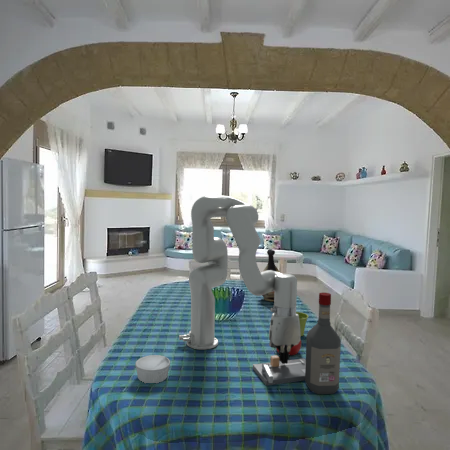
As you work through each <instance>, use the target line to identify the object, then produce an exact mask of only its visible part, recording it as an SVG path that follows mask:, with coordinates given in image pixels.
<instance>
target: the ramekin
mask: <svg viewBox="0 0 450 450" xmlns="http://www.w3.org/2000/svg"><path fill="white" fill-rule="evenodd" d="M170 366H171V360H170V359H169V358H168V357H167V356H164V355H160V354H158V355H157V354H150V355H145V356H142V357H140V358H138V359H137V360H136V361H135V369H136V375H137V379H138V380H139V381H140V382H141V381H142V383H143V382H144V383H143V384H146V383H156V384H159V382H160V383H162V382H164V381H165V380H166V379H167V378H168V376H169V370H170Z"/></svg>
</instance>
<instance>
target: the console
mask: <svg viewBox="0 0 450 450" xmlns="http://www.w3.org/2000/svg"><path fill="white" fill-rule="evenodd" d="M263 363H264V362H263ZM263 363H253V364H252V370H253V371H254V373H255V374H256V375H257V376H258V377H259V378H260V380H261V382H263V384H265V386H266V387H267V386H273V385H279V384H287V383H294V382H303V381H305V367H306V357H305V358H298V359H288V363H287V364H286V363H285V364H283V363H282V362H281V361H280V360H279V366H276V367H272V366H271V364H270V362H267V363H268V364H269V369H270V371H271V373H272V375H273V383H269V382H268V380H267V377H266V375H265V373H264V372H262V364H263Z"/></svg>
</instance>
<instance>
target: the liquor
mask: <svg viewBox="0 0 450 450" xmlns="http://www.w3.org/2000/svg"><path fill="white" fill-rule="evenodd" d="M331 305H332V294H331V293H329V292H319V293H318V319H317V321H316V324H315V325H314V326H313V327H311V328H310V329H309V330H308V332H307V333H306V338H305V339H306V340H305V341H306V343H305V344H306V345H305V359H306V367H305V380H304V381H305V384H306V386H307V387H308V388H309V390H310V392H312V393H314V394H317V395H334V394H336V392H337V391H338V390H339V389H340V370H341V369H340V368H341V367H340V365H341V344H342V342H341V341H342V340H341V337H340V335H338V332H336V331H335V329H334V328H333V327H332V325H331V324H332V323H331V319H330V318H331Z"/></svg>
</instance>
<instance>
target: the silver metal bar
mask: <svg viewBox="0 0 450 450" xmlns="http://www.w3.org/2000/svg"><path fill="white" fill-rule="evenodd" d="M268 363H269V362H263V364H262V372H264V373H265V375H266V377H267V380H268V382H269V383H273V375H272V373H271V371H270V369H269V364H268Z"/></svg>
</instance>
